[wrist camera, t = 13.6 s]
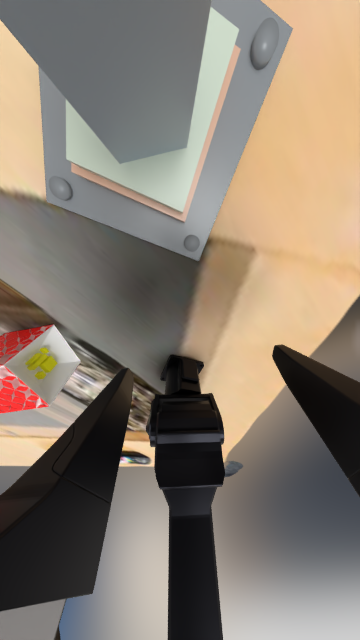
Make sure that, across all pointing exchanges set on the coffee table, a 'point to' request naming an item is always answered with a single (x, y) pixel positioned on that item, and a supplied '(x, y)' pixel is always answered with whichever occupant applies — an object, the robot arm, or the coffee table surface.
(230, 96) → the bolted base plate
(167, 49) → the tall brick
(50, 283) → the coffee table surface
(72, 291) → the coffee table surface
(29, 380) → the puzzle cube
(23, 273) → the coffee table surface
